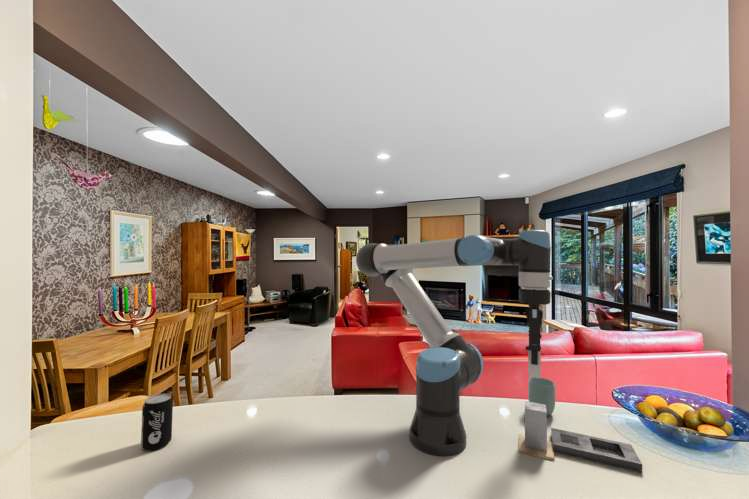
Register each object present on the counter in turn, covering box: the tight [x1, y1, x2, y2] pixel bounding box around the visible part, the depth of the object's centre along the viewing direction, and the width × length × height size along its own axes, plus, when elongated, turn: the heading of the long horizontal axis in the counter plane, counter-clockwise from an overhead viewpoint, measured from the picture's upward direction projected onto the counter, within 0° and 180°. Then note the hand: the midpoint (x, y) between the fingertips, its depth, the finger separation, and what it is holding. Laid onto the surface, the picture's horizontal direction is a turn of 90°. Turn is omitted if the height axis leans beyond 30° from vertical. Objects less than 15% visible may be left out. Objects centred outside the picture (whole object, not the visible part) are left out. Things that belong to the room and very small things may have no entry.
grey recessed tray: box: [550, 427, 643, 474], centre depth 82 cm, size 18×9×2 cm, turn 64°
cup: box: [527, 377, 556, 416], centre depth 103 cm, size 8×8×10 cm
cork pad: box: [518, 434, 555, 462], centre depth 83 cm, size 8×8×1 cm
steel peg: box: [524, 400, 548, 453], centre depth 84 cm, size 5×5×10 cm
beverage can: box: [140, 393, 174, 452], centre depth 83 cm, size 7×7×12 cm
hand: (534, 368), depth 84 cm, fingers open, 13 cm apart
